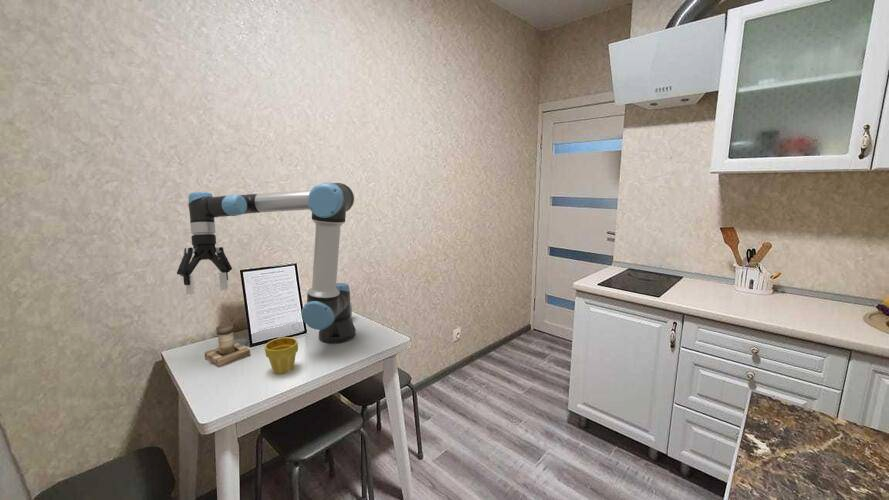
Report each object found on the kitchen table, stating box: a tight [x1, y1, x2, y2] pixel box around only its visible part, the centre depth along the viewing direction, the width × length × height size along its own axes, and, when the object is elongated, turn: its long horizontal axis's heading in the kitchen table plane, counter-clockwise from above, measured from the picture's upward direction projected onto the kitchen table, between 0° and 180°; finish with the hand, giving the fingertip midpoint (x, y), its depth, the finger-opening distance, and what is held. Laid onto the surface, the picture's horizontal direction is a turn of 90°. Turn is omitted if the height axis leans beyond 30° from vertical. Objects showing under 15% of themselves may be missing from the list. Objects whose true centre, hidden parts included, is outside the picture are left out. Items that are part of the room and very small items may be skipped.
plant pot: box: [264, 336, 299, 375], centre depth 125 cm, size 10×10×10 cm
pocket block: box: [203, 342, 251, 368], centre depth 134 cm, size 11×11×2 cm
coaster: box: [234, 338, 249, 346], centre depth 146 cm, size 7×7×1 cm
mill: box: [215, 323, 235, 356], centre depth 133 cm, size 5×5×12 cm
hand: (208, 291), depth 133 cm, fingers open, 13 cm apart
